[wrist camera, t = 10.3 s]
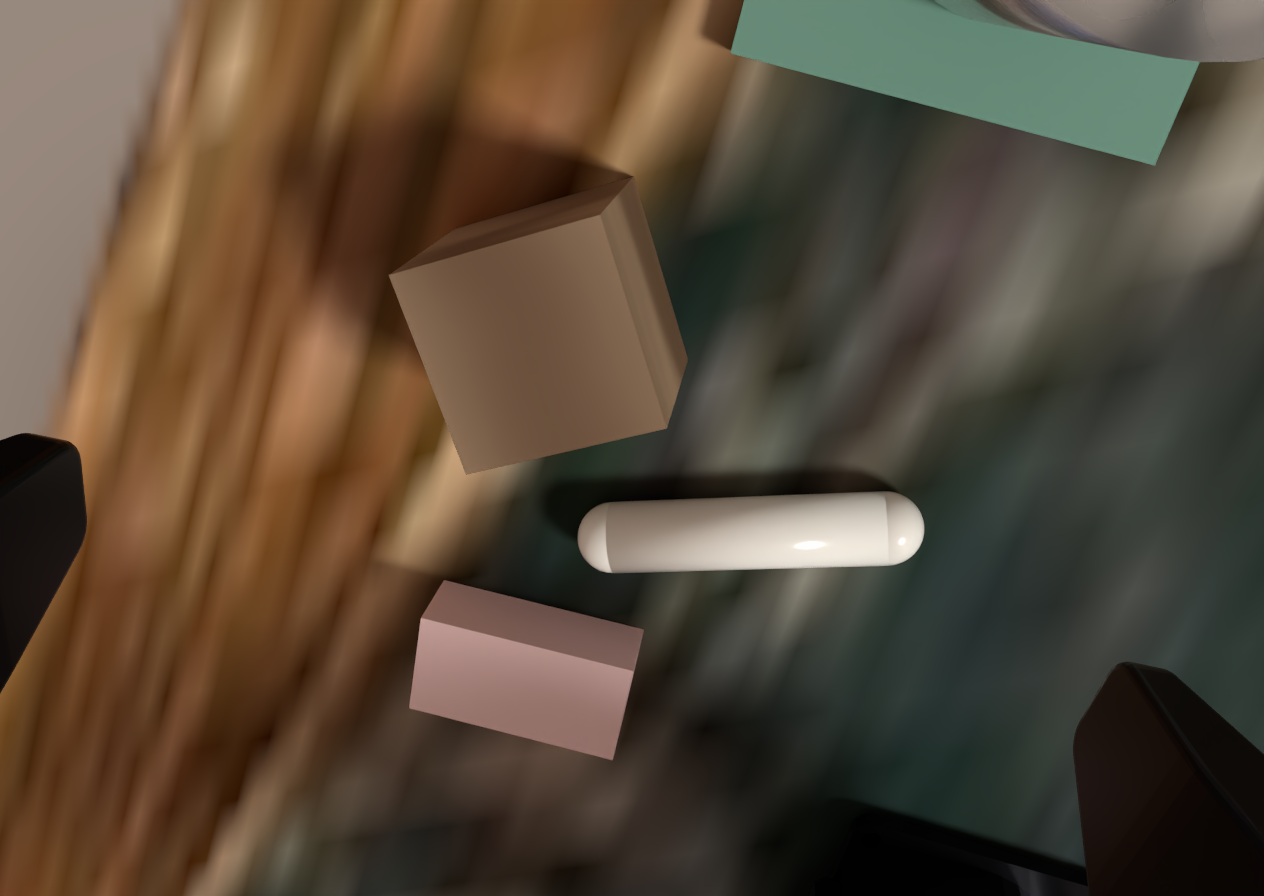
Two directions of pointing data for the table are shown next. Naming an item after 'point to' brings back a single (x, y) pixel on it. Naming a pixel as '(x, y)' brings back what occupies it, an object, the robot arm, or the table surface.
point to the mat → (976, 69)
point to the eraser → (524, 668)
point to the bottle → (1136, 24)
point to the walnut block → (546, 328)
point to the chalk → (752, 532)
